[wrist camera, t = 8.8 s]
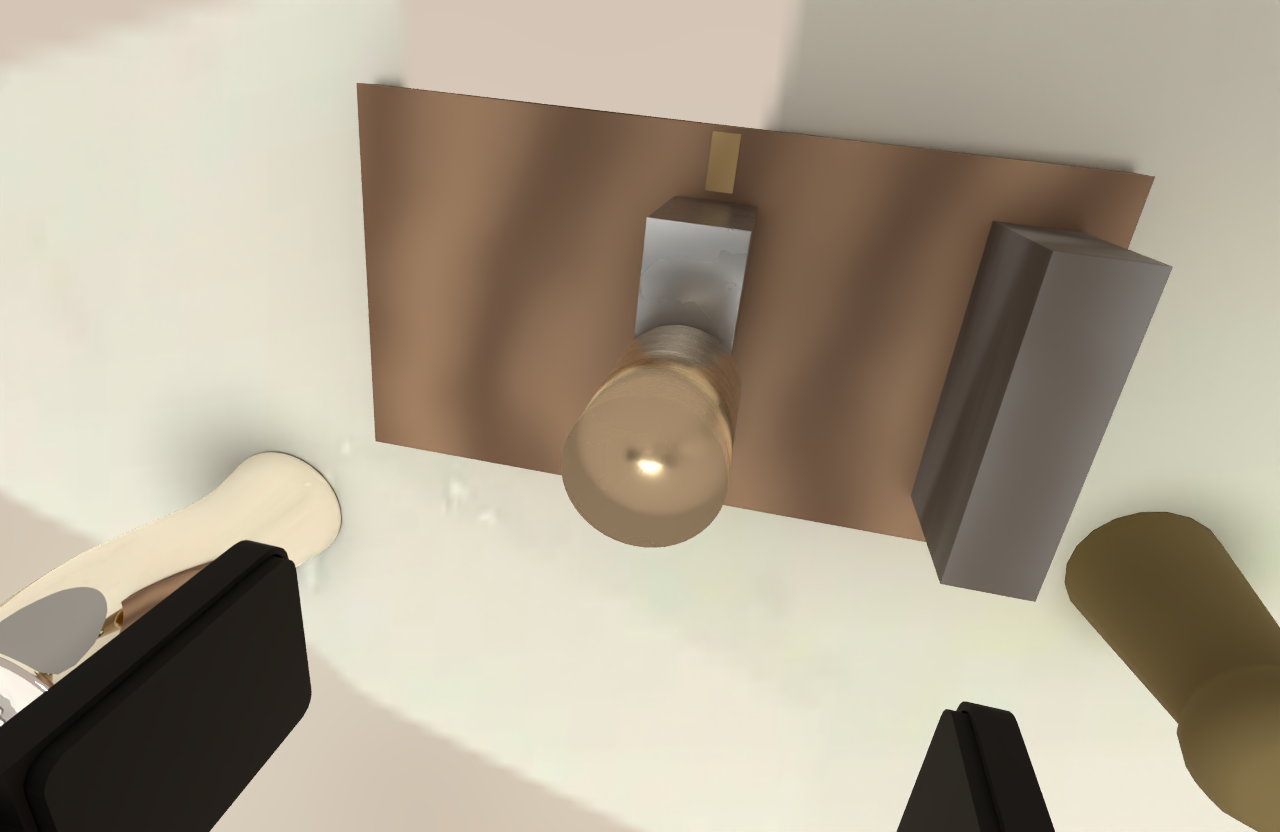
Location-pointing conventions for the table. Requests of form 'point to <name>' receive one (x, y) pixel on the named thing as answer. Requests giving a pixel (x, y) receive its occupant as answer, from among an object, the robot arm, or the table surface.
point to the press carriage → (669, 385)
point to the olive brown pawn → (1192, 650)
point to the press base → (766, 310)
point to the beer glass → (155, 569)
